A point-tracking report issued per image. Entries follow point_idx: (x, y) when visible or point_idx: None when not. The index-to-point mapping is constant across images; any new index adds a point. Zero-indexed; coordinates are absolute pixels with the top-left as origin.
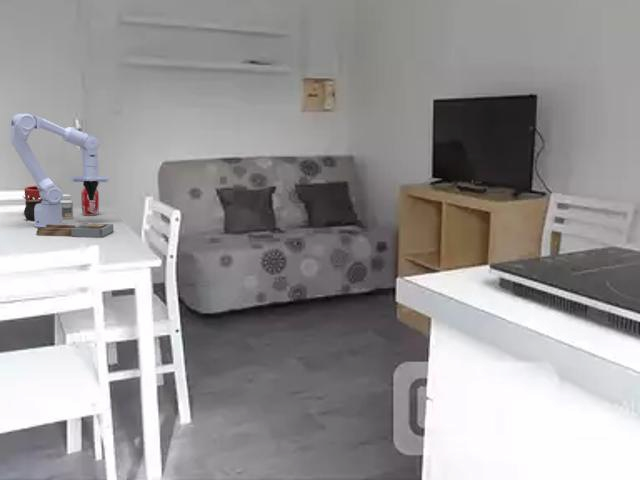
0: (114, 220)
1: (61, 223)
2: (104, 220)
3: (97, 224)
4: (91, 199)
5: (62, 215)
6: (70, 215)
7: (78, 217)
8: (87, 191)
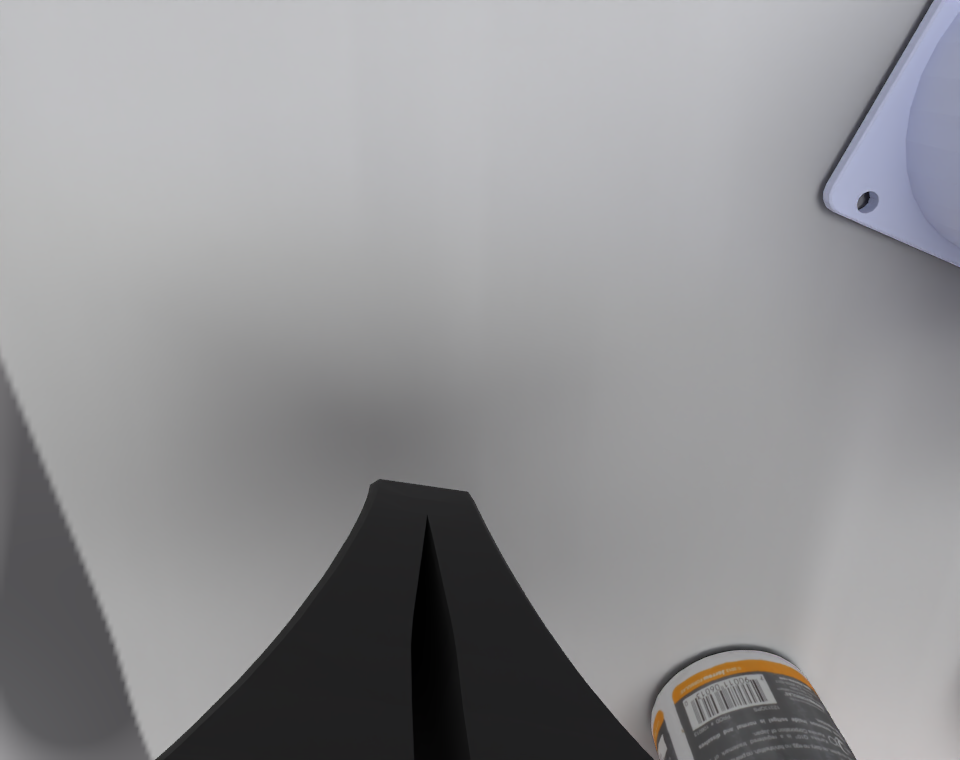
0: (115, 506)
1: (955, 40)
2: (259, 522)
3: None
4: (412, 494)
5: (794, 687)
6: (695, 697)
7: None
8: (564, 675)
